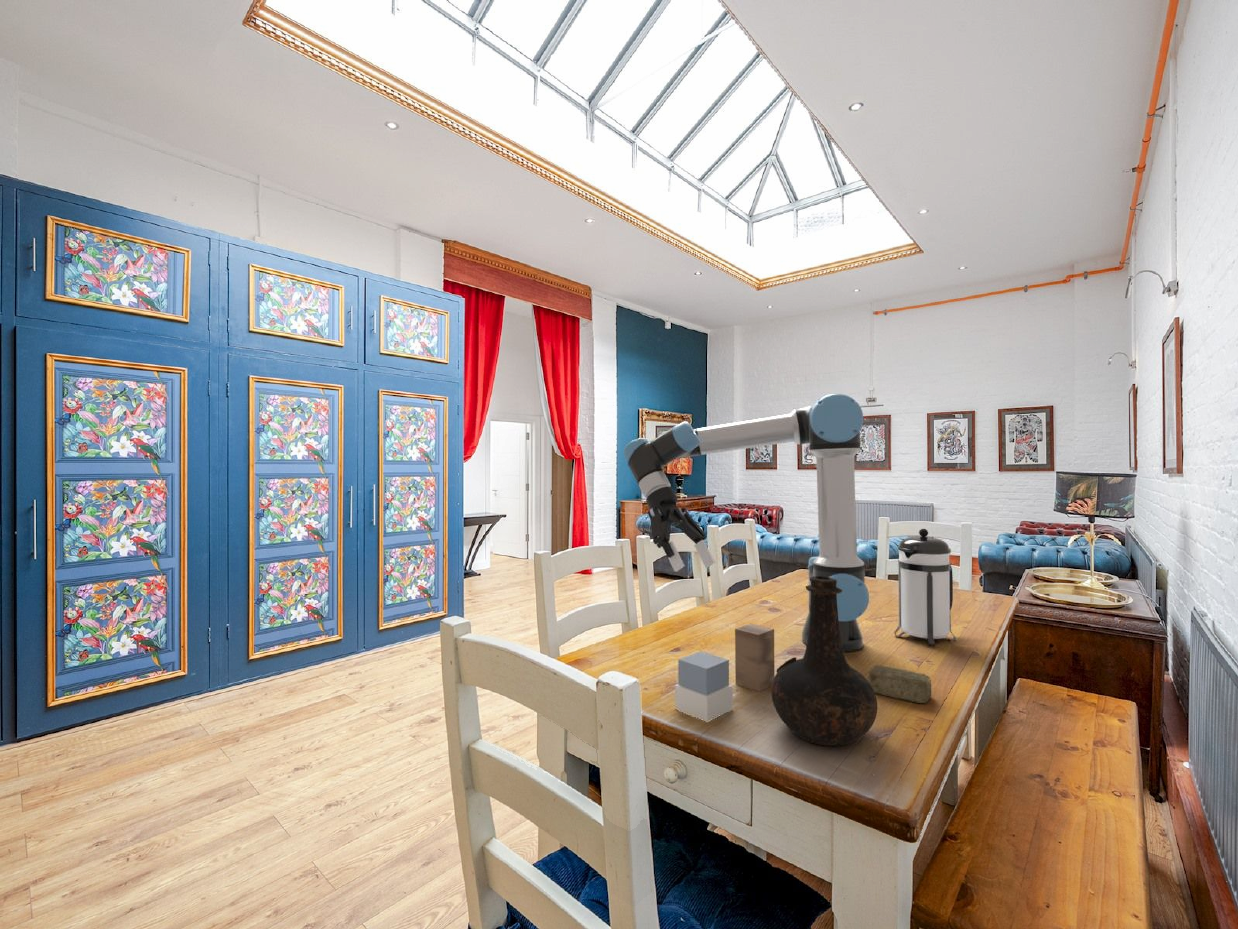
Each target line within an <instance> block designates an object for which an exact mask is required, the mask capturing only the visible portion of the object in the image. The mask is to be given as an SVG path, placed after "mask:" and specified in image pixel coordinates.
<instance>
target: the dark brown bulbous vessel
mask: <svg viewBox="0 0 1238 929" xmlns="http://www.w3.org/2000/svg"><path fill="white" fill-rule="evenodd" d="M810 582H811V585H809V584H808V585H806V586H805V590H807V591H808V592H809V591H811V604H810V621H809V632H808V640H807V644H806V647H805V650H804V651H805V652H804V655H803V657H802V658H799V659H798V658H797V657H794V656H793V657H791V658H790V659H788V660H786V661H784V663H782V664H781V665H780V666H779V667H778V668H776V674H775V677H774V680H773V683H772V685H771V694H770V695H771V701H772V704H773V708H774V709H775V711H776V713H777V715H778V716H779V718H780V719H781V721H782V722H783V724H784V725H785V726H786V727H787V728H788V729H789V730H790V731H791V732H792V733H794V734H795V736H797V737H799V738H800V739H802V740H805V741H806V742H808V743H811V744H815V745H819V746H820V745H821V746H826V747H827V746H828V747H833V746H834V747H837V746H845V745H847V744H851V743H855V742H856V741H858V740H859V739H861V738H862V737H864V736H865V735H866V734H867V733H868V732H869V731H870V729H871V728H872V727H873V725H874V723H875V721H876V719H877V714H878V699H877V696H876V693H875V692H874V690H873V688H872V686H871V685H870V683H869V679H867V678H866V677H865V676H864V675H863V674H862V673H861V672H860V671H858V670H857V669H855V667H854V668H853V666H851V665H849V663H848V661H847V659H846V656H845V652H843V648H842V642H841V637H840V629H839V620H838V608H837V594H839V593H841V592H842V589H840V588H837V587H836V584H837V580H835V579H833V578H830V577H825V576H814V577H810Z"/></svg>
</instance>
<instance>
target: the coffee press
mask: <svg viewBox="0 0 1238 929" xmlns="http://www.w3.org/2000/svg"><path fill="white" fill-rule="evenodd" d="M918 534H919V536H915V537H914V536H913V537H906V538H903V539H902V540H901V541H900V542H899V545H897V550H898V553H899V554H898V555H899V556H898V561H897V562H898V571H897V572H898V626H897V628H896V629H895V630H894V632H893V635H895V637H896V638H901V637H903V635H905V634H906V635H909V636H912V637H915V638H920V639H925V641H926V644H927V647H935V640H938V639H944V638H947V639H948V640H950V641H951V642H954V641H956V636H955V635H954V634H953V632H952V628H951V626H952V624H951V623H952V622H951V610H952V607H953V601H954V598H953V597H954V591H953V590H954V588H953V587H954V583H953V582H954V581H953V580H954V579H953V568H952V565H951V563H950V555H951V552H952V549H951V548H950V546H949V544H948V543H947V542H946V541H945V540H942V539H939V538H934V537H927V536H928V535H929V531H928V529H927V528H921V529H919V531H918ZM899 630H901V631H902V632H901V633H900V634H898V635H897V633H898V632H899ZM949 634H951V635H952V636H953V638H950V637H948V636H949Z"/></svg>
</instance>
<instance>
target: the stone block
mask: <svg viewBox="0 0 1238 929" xmlns="http://www.w3.org/2000/svg"><path fill="white" fill-rule="evenodd" d="M931 681H932V680H931V678H930V676H929V675H927V674H925V673H921V672H916V671H915V672H914V671H910V670H907V669H903V668H902V669H901V668H896V667H890V666H884V665H879V664H878V665H876V664H875V666H874V667H872V668H871V669H870V670H869V672H868V682H869V683H870V685H871V686H872V688H873V690H874V692H875V694H877V695H878V694H879V695H880V696H885V697H890V698H892V699H893V698H894V699H899V700H902V701H908V702H912V703H915V704H926V703H928V701H929V700H930V698H932V692H933V691H932V682H931Z"/></svg>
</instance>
